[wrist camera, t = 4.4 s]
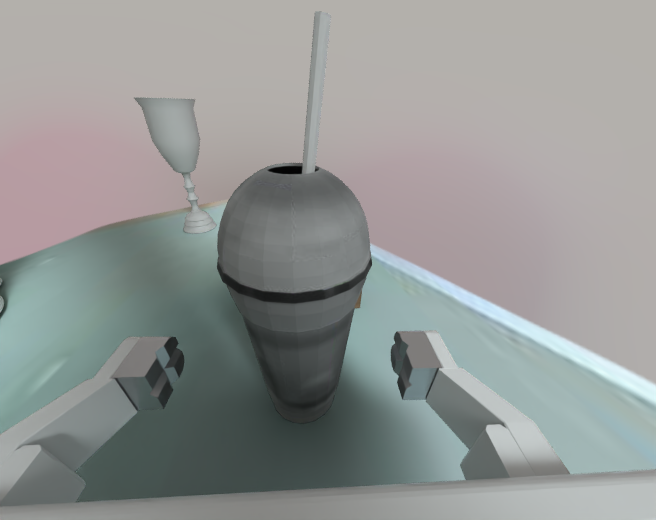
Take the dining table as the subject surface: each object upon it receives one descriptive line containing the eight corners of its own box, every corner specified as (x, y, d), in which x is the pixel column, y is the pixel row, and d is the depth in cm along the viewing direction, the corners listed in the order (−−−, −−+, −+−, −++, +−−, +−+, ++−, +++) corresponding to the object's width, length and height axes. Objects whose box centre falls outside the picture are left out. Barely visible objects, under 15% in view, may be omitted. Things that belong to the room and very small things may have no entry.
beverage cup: (277, 341, 22) (240, 42, 11) (360, 358, 21) (404, 38, 10) (230, 429, 16) (64, -30, 5) (344, 463, 15) (412, -64, 4)
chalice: (213, 236, 39) (180, 98, 30) (168, 236, 39) (120, 97, 29) (227, 218, 45) (203, 99, 36) (188, 218, 45) (154, 98, 35)
